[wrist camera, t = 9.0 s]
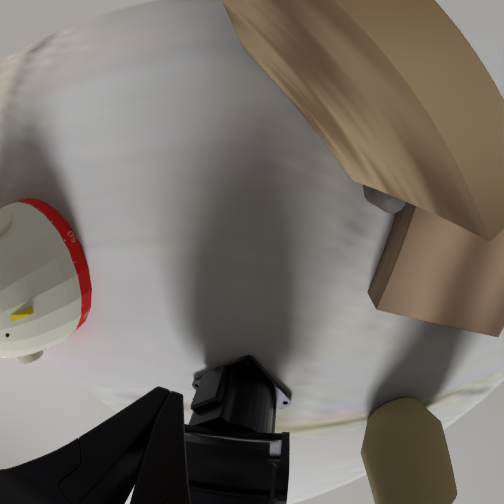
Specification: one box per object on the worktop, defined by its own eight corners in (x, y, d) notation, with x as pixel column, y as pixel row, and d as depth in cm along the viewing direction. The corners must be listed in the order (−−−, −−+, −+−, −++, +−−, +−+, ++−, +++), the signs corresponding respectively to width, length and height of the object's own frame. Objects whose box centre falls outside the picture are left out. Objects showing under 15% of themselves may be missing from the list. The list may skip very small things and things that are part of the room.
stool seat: (536, 175, 15) (555, 179, 13) (484, 322, 20) (498, 337, 17) (425, 104, 16) (441, 99, 13) (367, 292, 20) (376, 309, 18)
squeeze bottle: (435, 378, 22) (500, 536, 5) (425, 427, 24) (463, 559, 7) (355, 399, 24) (379, 583, 6) (356, 445, 26) (370, 589, 9)
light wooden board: (395, 193, 18) (556, 271, 4) (372, 210, 18) (510, 320, 5) (268, 32, 15) (231, -129, 2) (243, 49, 16) (166, -101, 3)
